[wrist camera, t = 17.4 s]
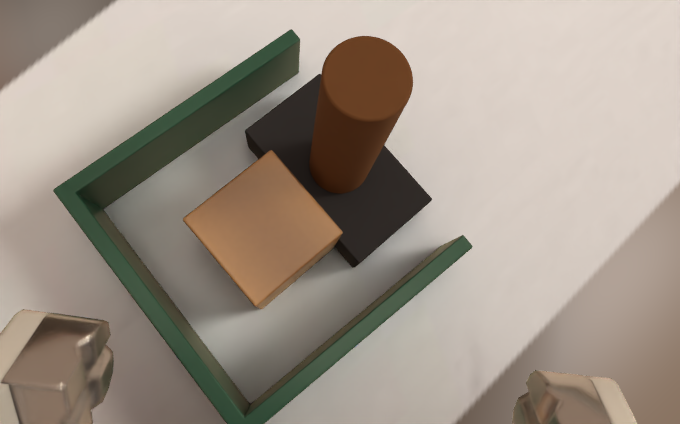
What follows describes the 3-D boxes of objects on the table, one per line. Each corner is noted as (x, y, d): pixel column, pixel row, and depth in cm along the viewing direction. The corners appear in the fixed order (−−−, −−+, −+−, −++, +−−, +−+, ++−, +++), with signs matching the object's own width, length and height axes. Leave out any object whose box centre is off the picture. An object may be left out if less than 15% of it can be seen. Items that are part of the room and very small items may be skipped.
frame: (291, 63, 25) (291, 27, 22) (450, 256, 24) (473, 246, 21) (82, 207, 23) (51, 189, 20) (247, 426, 21) (241, 443, 19)
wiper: (317, 92, 25) (337, -60, 15) (421, 209, 24) (513, 130, 14) (247, 146, 24) (220, 22, 14) (353, 268, 23) (401, 228, 13)
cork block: (273, 177, 24) (271, 148, 20) (334, 247, 23) (343, 232, 19) (199, 236, 23) (181, 218, 19) (261, 310, 22) (255, 307, 19)
